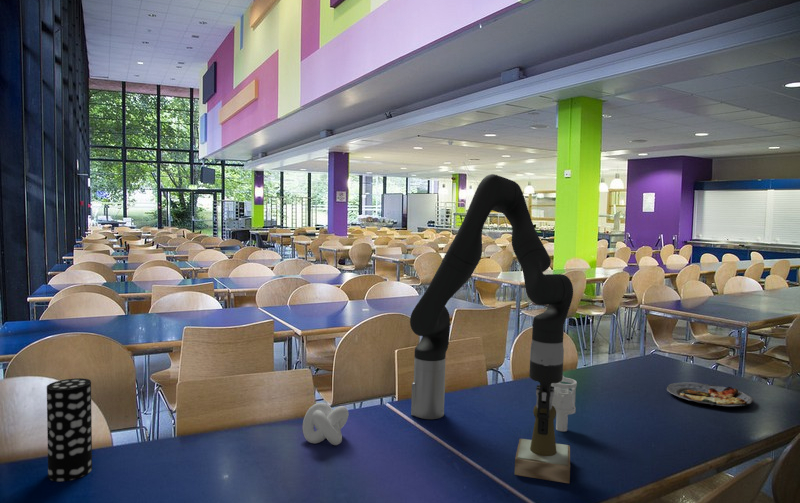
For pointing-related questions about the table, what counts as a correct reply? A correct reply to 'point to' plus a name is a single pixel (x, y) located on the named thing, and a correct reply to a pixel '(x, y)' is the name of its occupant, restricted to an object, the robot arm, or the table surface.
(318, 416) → the grey torus knot
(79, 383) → the white-spotted black cylinder
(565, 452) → the base block
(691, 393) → the food plate
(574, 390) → the grey mechanical part
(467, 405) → the table surface
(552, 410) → the cork
